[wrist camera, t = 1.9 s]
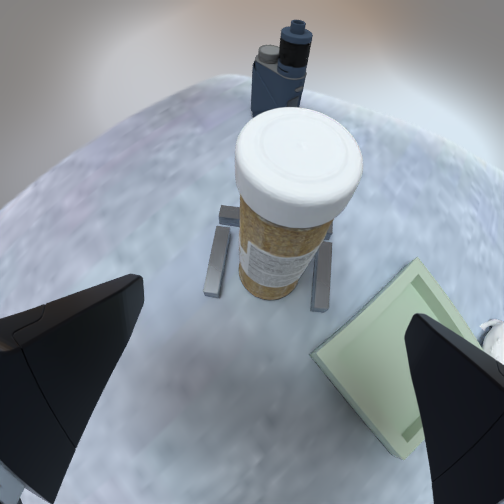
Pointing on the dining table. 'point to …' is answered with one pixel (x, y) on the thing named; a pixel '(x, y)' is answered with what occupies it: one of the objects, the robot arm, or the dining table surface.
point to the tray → (387, 356)
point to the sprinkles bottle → (290, 193)
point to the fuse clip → (219, 254)
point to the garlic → (494, 340)
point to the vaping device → (281, 70)
